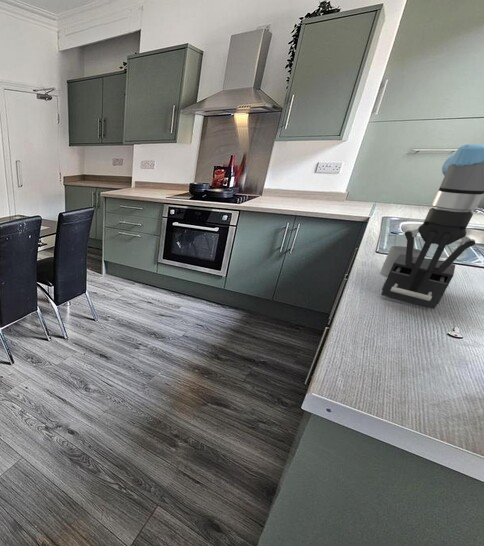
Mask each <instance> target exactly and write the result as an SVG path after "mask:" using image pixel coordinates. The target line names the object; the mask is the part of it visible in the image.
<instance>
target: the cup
mask: <svg viewBox="0 0 484 546" xmlns="http://www.w3.org/2000/svg"><path fill="white" fill-rule="evenodd" d="M406 248H407V246H403V245H392V246H390V248H389V250H388V253H387V255H386V258H385V259H384V262H383V264H382V267H381V268H380V269H381V270H380V271H379V273H380V274H381V275H382V276H385V277H386V278H387V277H388V275H389V273H390V270H391V268H392V266H393V264H394V262H395V261H396V259H397V258H398V256H399V255H400V254H403V255H406ZM421 250H422V249H418V248H415V247H414V251H413V256H414V257H418V256H419V254H420V252H421Z"/></svg>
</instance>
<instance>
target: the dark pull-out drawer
mask: <svg viewBox="0 0 484 546" xmlns="http://www.w3.org/2000/svg"><path fill="white" fill-rule="evenodd" d="M411 271H412V269H409V268H405V267H400V266H399V267H398V268H397V270H396V271H395V272H394V271H391V273H390V276H389V278H388V280H387V282H386V285H385V287H384V289H383V290H381V291H382V292H381V293H380V295H381V296H384V297H387V298H391V299H395V300H398V301H402V302H406V303H410V304H414V305H417V306H420V307H425V308H429V309H433V310H435V309H436V307H437V305H438V304H439V303H438V301H439V299H440V297H441V296H442V294H443V292H444V290H445V288H446V286H447V284H448V283H444V279H445V276H442V275H438V274H433V273H432V274H431V277H430V279H429V281H428V282H427V283H422V282H421V283H420V285H419V287H418V290H417V292H413V291H409V289H410V287H411V285H412V283H413V280H409V276H410V273H411ZM446 289H447V288H446ZM445 291H446V290H445ZM444 293H445V292H444ZM443 295H444V294H443ZM442 297H443V296H442ZM439 302H440V301H439ZM437 303H438V304H437Z"/></svg>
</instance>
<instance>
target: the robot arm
mask: <svg viewBox="0 0 484 546" xmlns="http://www.w3.org/2000/svg"><path fill="white" fill-rule="evenodd" d="M441 172H442V175H443V176H444V177H443V179H442V181H441V183H440V185H439V189H438V190H437V191H436V194H435V197H434V199H433V200H432V203H431V206H432V207H431V208H430V209H429V210H428V211H427V214H426V216H425V218H424V221H423V223H422V224H421V225H419V226H418V228H415V229H411V230H410V229H407V230H406V231H405V232H404V236H405V239H406V247H407V248H406V260H405V265H406V266H409V267H411V268H412V271H411V273H410V276H409V280H413V283H412V285H411V287H410V289H409V291H413V292H417V290H418V287H419V285H420V283H421V282H422V283H427V282H428V281H429V279H430V277H431V274H432V273H434V272H440V273H442V272H444V271H445V270H446V269H447V268H448V267H449V266H450V265H451V264H454V262H455V261H456V260H457V258H459V257H460V256H461V255H462V254H463V252H464V251H465V250H467V249H469V248H471V247H473V246H474V245H476V240H475V239H473V238H471V237H469V236H467V227H468V225H469V223H470V221H471V219H472V217H473V216H474V213H473V212H472V211H475V210H477V208H478V206H479V204H480V203H481V200H482V198H483V196H484V144H463V145H461V146H460V147H458V148H457V150H456V151H455V153H454V154H453V155H450V156H449V157H448V158H447V159H446V160H445V161H444V162H443V164H442V167H441ZM418 234H419V236H420V237H421V239H422V241H423V242H424V244H423V246H422V248H421V249H420V250H421V252H420V254H419V256H418V258H417V261H416V263H414V262H413V251H414V248H415V238H417V236H418ZM459 240H460V241H459ZM457 241H459V245H458V246H457V247H456V248H455V249H454V250H453V251H452V252H451V253H450V254H449V256H447V258H445V260H443V261H442V262H443V263H442V264H441V265H440V266H439V267H435V266H436V264H437V262H438V261H440V258H441V257H442V255H443V253H444V250H445V248H446V246H449V245H452V244H453V243H455V242H457ZM432 245H437V248H436V250H435V252H434V254H433V256H432V258H431V259H430V260H431V262H430V264H429V266H428V268H427V270H423V269H419V268H420V266H421V264H422V262H423V260H424V259H426V256H427V254H428V252H429V250H430V247H431V246H432Z"/></svg>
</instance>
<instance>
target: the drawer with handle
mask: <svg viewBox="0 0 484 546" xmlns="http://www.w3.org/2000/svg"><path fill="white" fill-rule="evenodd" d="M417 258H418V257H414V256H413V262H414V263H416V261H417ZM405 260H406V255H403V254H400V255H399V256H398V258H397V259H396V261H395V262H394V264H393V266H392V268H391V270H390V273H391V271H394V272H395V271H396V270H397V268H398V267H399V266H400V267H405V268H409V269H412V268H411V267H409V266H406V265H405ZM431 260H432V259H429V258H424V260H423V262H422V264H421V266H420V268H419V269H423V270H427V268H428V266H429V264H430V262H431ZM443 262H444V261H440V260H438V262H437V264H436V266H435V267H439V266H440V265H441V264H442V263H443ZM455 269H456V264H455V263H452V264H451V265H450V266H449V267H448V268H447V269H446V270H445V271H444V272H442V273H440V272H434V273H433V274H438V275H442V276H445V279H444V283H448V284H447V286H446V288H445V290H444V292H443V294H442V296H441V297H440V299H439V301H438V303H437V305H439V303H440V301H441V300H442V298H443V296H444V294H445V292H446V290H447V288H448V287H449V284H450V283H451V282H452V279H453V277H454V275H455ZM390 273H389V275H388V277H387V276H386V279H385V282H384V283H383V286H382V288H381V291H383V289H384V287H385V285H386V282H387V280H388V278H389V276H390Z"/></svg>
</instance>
